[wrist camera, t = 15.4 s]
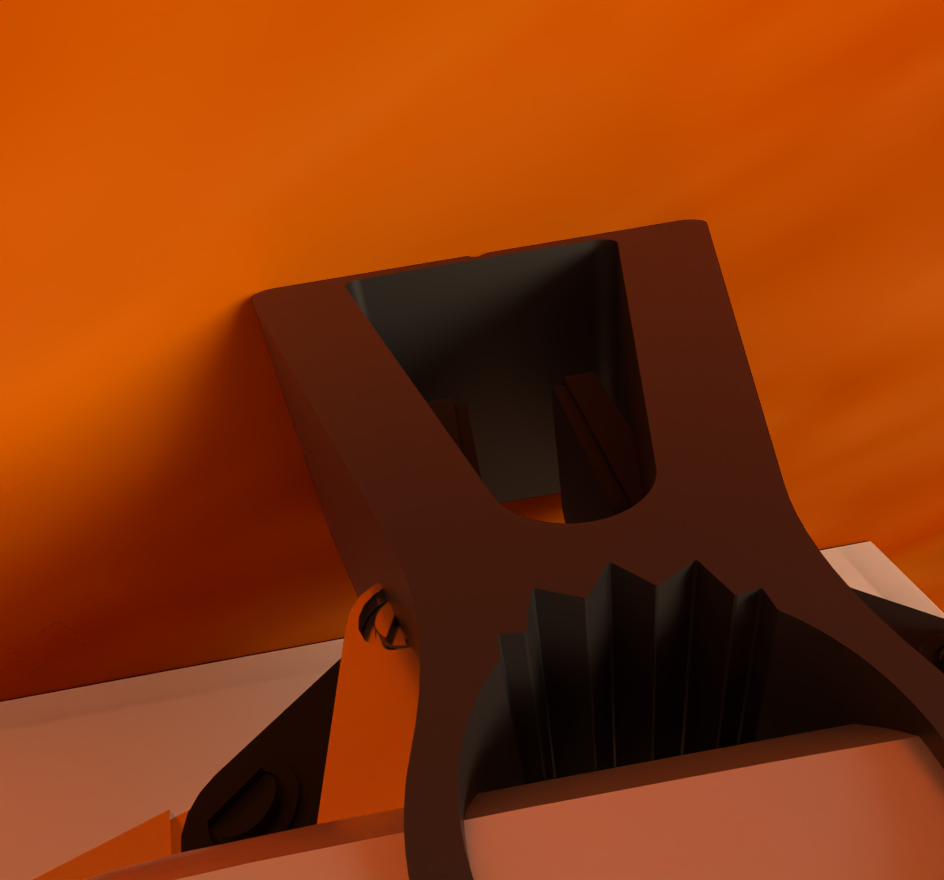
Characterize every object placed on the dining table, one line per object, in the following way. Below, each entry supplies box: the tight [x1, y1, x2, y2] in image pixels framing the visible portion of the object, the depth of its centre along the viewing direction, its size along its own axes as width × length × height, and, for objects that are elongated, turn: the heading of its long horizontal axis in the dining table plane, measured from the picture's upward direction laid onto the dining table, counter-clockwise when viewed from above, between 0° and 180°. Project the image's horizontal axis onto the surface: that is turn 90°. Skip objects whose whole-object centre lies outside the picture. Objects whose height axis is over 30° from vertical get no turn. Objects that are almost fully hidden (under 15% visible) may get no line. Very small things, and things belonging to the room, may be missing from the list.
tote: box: [0, 541, 944, 880], centre depth 18 cm, size 30×14×6 cm, turn 99°
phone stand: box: [251, 220, 944, 880], centre depth 8 cm, size 9×6×12 cm, turn 98°
